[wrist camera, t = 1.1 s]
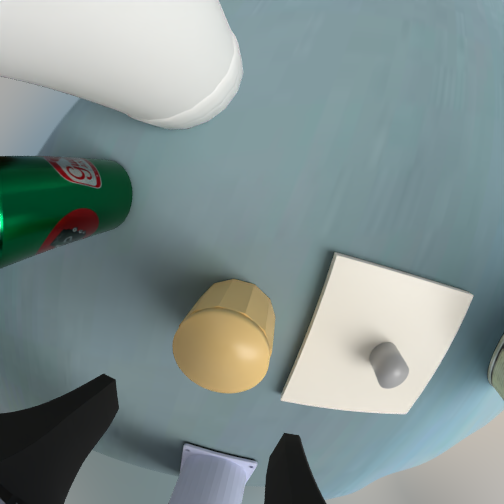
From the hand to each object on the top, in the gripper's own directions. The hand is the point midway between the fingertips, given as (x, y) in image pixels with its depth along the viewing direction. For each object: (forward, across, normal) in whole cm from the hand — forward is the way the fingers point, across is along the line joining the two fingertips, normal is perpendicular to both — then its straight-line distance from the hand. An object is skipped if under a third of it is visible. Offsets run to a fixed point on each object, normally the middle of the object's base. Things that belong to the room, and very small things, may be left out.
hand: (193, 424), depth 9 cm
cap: (+10, 0, 0) cm, 10 cm away
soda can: (+10, +11, -6) cm, 16 cm away
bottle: (+10, +7, -15) cm, 20 cm away
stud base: (+10, -11, 0) cm, 15 cm away
